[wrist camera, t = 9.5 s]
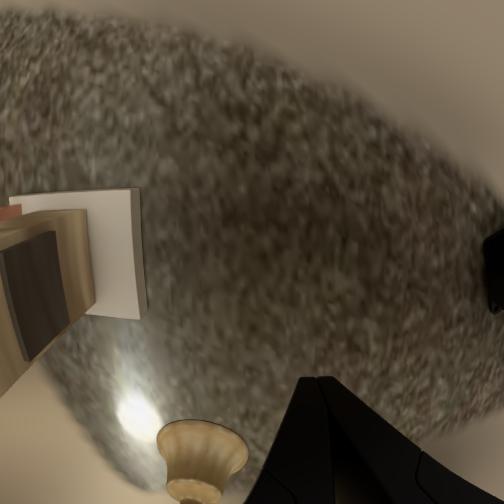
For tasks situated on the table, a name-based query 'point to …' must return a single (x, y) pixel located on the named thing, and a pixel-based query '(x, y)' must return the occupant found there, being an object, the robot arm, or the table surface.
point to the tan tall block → (40, 285)
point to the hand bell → (200, 459)
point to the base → (102, 243)
